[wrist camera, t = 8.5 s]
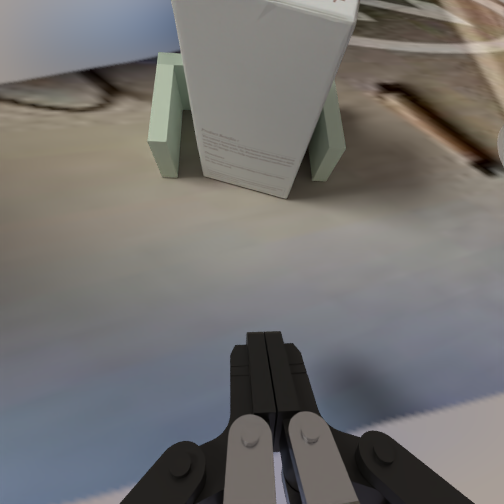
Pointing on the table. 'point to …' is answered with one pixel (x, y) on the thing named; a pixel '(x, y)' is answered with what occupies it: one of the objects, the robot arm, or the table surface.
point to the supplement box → (259, 82)
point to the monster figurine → (501, 144)
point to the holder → (177, 99)
